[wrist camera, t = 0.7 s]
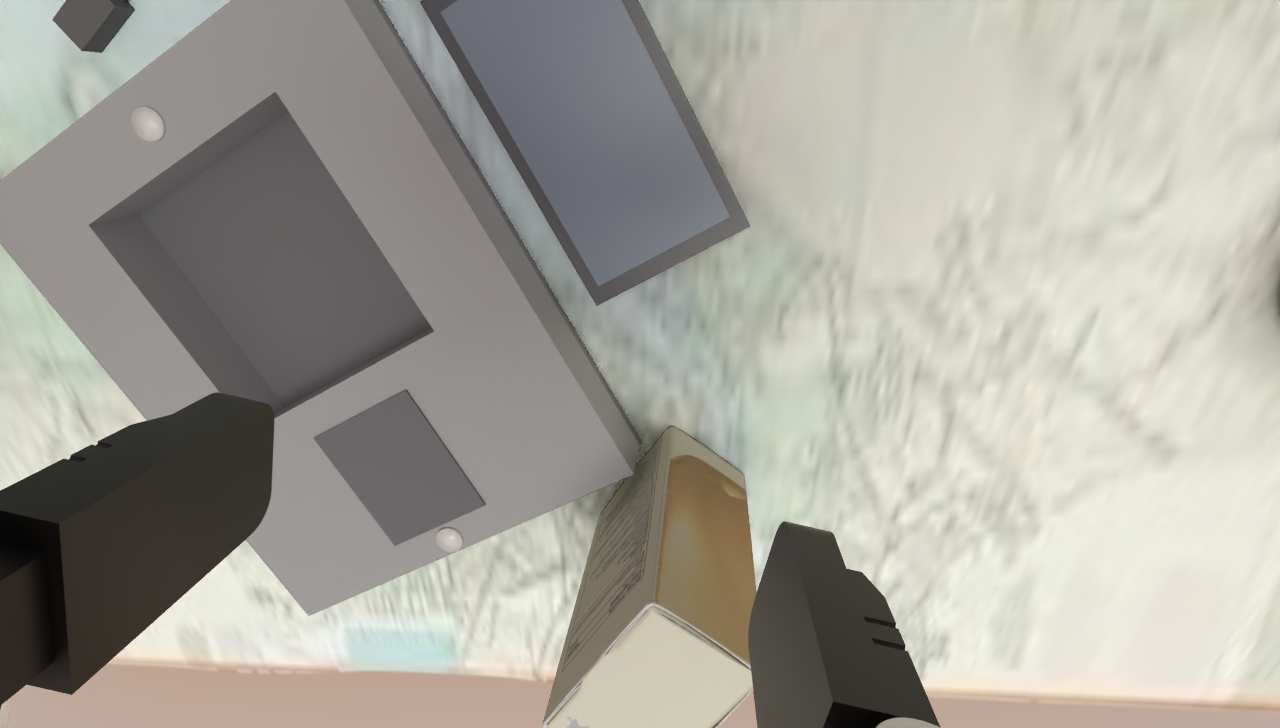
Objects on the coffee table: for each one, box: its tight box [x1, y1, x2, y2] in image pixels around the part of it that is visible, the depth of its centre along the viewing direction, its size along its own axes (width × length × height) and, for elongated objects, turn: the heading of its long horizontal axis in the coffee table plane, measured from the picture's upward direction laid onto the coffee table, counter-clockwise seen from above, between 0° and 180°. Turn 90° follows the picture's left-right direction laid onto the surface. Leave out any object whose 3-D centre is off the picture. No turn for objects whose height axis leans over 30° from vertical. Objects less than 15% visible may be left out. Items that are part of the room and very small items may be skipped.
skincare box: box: [543, 427, 756, 728], centre depth 26 cm, size 6×4×12 cm
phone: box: [420, 0, 750, 305], centre depth 26 cm, size 7×13×1 cm, turn 29°
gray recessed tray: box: [0, 0, 641, 616], centre depth 29 cm, size 18×22×3 cm
